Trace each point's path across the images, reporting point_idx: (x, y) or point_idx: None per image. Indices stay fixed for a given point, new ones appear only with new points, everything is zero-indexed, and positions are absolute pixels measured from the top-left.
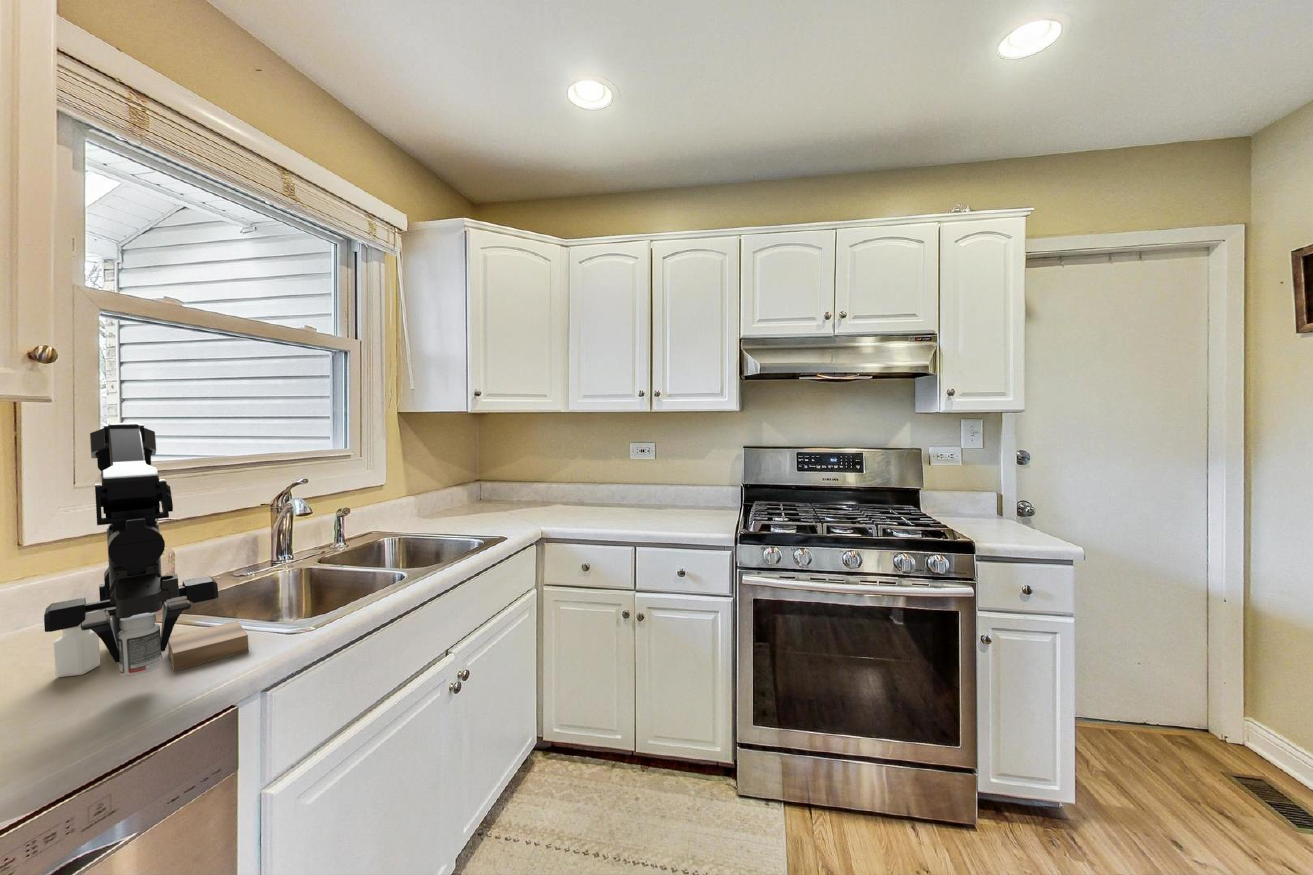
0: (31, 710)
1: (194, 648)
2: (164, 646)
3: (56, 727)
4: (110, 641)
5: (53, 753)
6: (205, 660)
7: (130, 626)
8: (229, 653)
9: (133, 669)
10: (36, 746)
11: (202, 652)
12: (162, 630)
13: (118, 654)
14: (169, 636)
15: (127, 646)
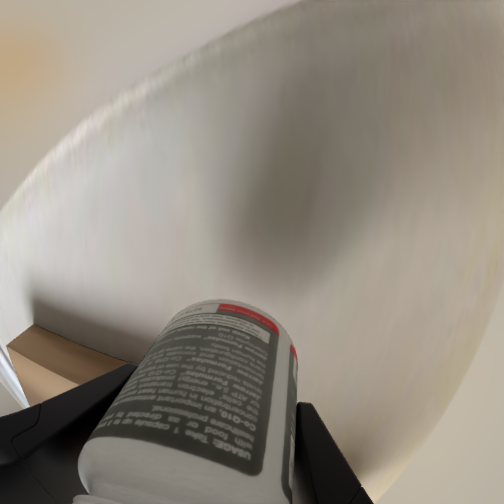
0: (427, 402)
1: None
2: (118, 371)
3: (454, 242)
4: (341, 498)
5: (477, 64)
6: (97, 356)
7: None
8: (55, 340)
9: (261, 324)
10: (498, 153)
11: (88, 373)
12: (82, 441)
13: (300, 426)
14: (72, 388)
15: (265, 429)
